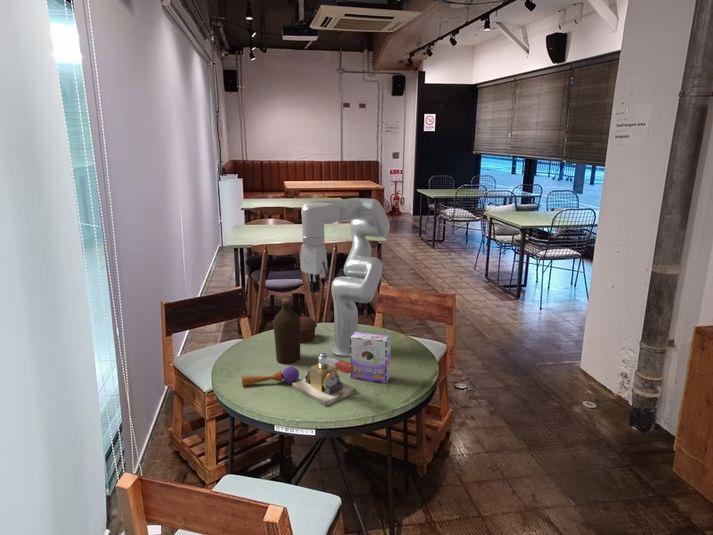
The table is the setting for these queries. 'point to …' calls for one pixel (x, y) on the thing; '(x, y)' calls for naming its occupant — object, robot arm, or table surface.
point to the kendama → (274, 377)
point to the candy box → (370, 357)
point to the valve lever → (334, 363)
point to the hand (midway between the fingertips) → (315, 291)
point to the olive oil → (287, 334)
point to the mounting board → (322, 396)
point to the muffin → (307, 329)
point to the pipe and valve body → (324, 379)
